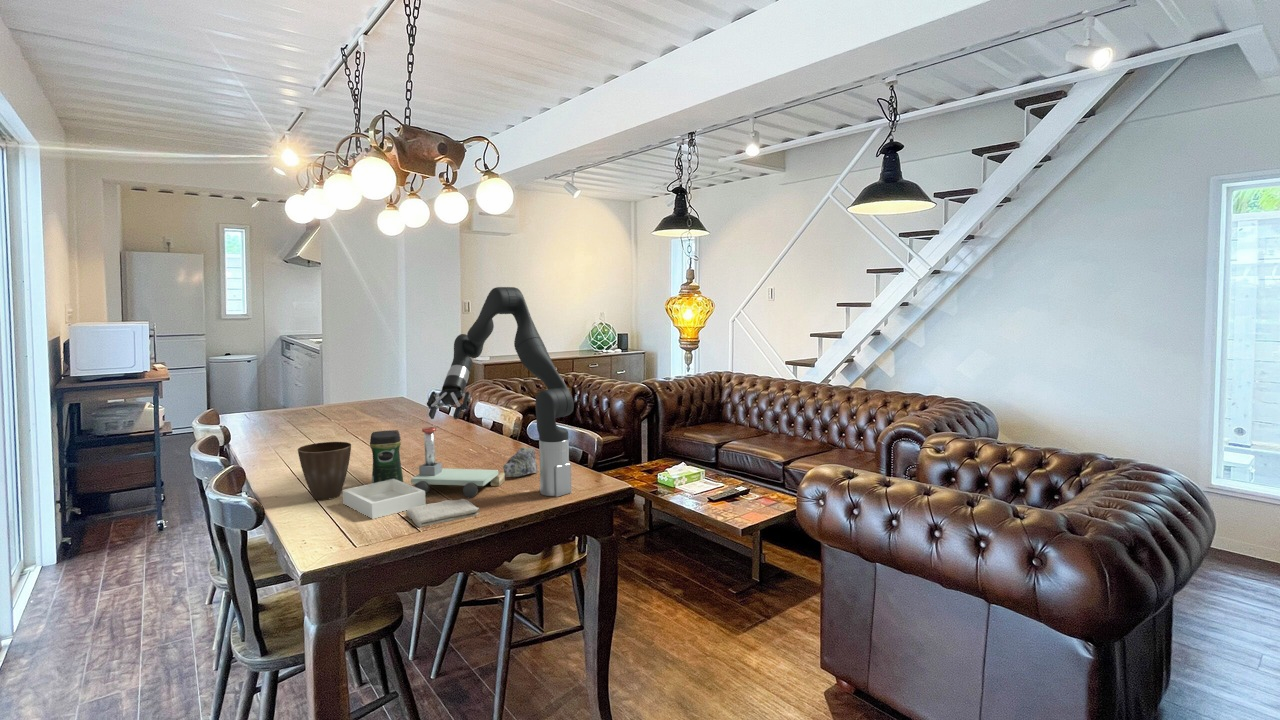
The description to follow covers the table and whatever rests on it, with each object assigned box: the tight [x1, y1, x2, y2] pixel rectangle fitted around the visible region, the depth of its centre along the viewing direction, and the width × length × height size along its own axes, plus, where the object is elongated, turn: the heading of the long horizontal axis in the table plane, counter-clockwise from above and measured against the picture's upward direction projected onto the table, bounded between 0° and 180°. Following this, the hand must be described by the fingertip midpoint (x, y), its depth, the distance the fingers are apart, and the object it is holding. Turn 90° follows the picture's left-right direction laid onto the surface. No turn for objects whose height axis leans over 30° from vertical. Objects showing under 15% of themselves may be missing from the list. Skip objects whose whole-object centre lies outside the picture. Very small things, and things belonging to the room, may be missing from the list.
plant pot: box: [297, 441, 352, 500], centre depth 192 cm, size 15×15×16 cm
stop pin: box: [421, 426, 437, 466], centre depth 199 cm, size 4×4×15 cm
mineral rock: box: [502, 446, 538, 478], centre depth 216 cm, size 13×11×10 cm
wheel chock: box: [490, 471, 506, 487], centre depth 205 cm, size 3×5×3 cm, turn 173°
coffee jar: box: [369, 429, 404, 484], centre depth 203 cm, size 10×8×19 cm
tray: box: [342, 479, 427, 520], centre depth 184 cm, size 20×16×4 cm
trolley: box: [410, 462, 499, 499], centre depth 199 cm, size 24×16×8 cm, turn 83°
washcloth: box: [405, 498, 480, 528], centre depth 174 cm, size 12×18×3 cm, turn 126°
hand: (443, 417), depth 209 cm, fingers open, 8 cm apart
